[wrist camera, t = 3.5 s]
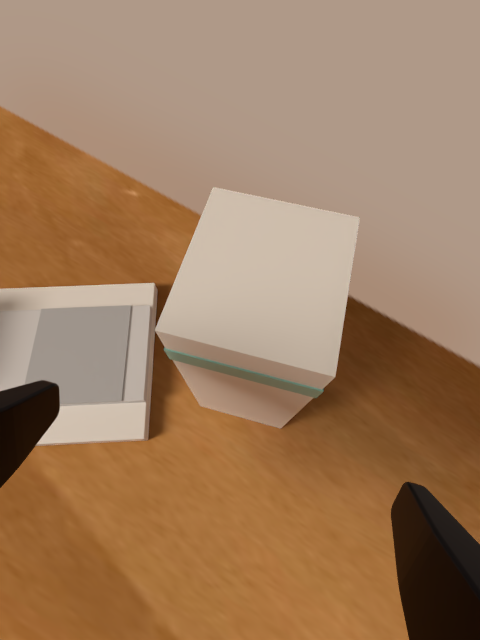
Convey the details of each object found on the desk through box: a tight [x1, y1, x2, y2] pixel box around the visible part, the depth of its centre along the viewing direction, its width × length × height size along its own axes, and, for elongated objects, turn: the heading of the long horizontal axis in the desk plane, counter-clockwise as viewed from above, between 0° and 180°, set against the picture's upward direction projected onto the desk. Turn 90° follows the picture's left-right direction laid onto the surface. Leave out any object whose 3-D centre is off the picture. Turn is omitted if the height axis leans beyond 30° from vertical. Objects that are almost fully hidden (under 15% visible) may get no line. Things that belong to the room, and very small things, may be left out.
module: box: [155, 187, 360, 429], centre depth 15 cm, size 6×5×12 cm
